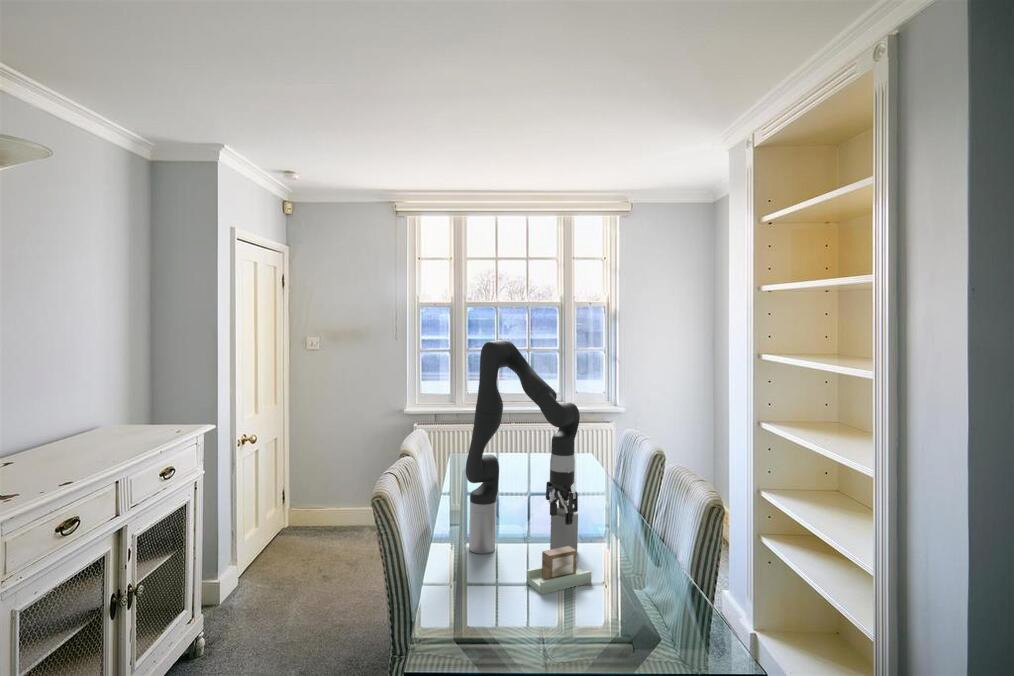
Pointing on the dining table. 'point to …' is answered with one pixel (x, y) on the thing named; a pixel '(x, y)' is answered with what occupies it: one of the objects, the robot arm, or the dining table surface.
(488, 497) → the robot arm
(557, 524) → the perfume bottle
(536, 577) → the ledge
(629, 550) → the dining table surface
